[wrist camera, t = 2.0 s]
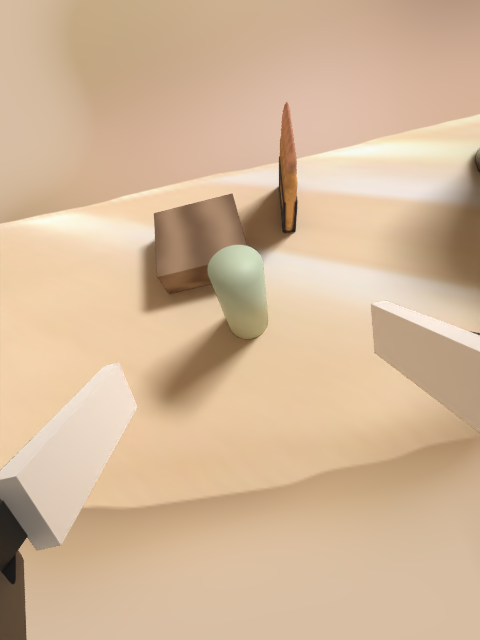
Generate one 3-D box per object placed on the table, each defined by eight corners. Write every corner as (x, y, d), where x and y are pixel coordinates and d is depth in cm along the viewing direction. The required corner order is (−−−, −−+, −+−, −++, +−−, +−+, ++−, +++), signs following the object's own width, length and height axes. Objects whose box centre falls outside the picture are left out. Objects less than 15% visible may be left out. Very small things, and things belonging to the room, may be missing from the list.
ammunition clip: (295, 232, 38) (301, 148, 27) (282, 233, 38) (284, 150, 27) (290, 184, 43) (293, 97, 32) (278, 186, 43) (278, 99, 32)
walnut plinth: (236, 215, 41) (232, 193, 37) (252, 273, 35) (249, 254, 32) (164, 233, 41) (154, 213, 38) (169, 293, 36) (157, 277, 32)
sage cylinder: (263, 299, 33) (256, 239, 24) (272, 333, 31) (269, 282, 21) (225, 308, 34) (204, 252, 24) (232, 343, 31) (211, 296, 22)
